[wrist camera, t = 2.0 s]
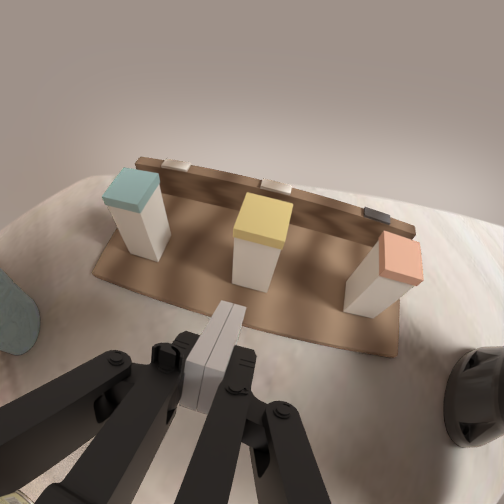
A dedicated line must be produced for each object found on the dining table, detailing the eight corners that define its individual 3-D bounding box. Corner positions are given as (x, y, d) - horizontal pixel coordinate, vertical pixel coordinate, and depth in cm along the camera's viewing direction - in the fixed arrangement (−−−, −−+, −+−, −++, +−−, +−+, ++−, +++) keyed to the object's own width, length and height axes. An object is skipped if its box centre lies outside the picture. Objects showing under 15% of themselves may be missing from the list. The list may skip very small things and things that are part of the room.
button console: (394, 250, 37) (416, 224, 31) (393, 357, 28) (424, 343, 23) (147, 186, 39) (139, 154, 34) (94, 276, 31) (73, 249, 25)
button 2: (172, 234, 33) (158, 173, 25) (158, 263, 31) (137, 204, 22) (143, 227, 34) (123, 167, 25) (129, 253, 31) (101, 196, 23)
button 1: (375, 288, 32) (419, 242, 23) (373, 319, 29) (423, 280, 21) (345, 280, 32) (383, 230, 23) (342, 312, 30) (385, 269, 21)
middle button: (275, 262, 32) (293, 203, 24) (267, 293, 30) (285, 241, 22) (240, 253, 33) (247, 192, 24) (230, 283, 30) (233, 228, 22)
